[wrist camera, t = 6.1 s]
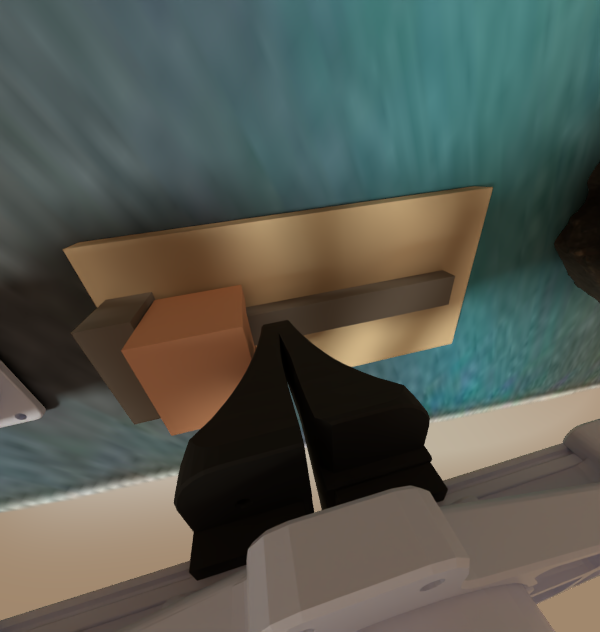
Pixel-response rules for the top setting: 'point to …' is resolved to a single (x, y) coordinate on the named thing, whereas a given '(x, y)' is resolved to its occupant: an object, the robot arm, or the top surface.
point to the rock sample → (584, 241)
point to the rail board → (294, 278)
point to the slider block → (191, 354)
